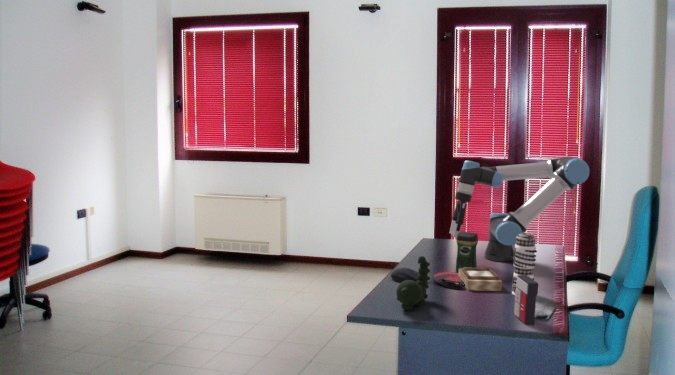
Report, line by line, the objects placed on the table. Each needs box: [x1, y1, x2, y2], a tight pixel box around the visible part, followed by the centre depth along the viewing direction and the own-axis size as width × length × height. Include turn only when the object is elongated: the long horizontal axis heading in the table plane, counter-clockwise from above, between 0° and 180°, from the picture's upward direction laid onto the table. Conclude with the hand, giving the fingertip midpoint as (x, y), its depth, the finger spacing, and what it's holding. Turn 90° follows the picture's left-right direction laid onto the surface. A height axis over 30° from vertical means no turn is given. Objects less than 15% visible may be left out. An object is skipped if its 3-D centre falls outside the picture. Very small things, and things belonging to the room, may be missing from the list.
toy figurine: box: [396, 255, 431, 312], centre depth 241 cm, size 9×19×25 cm
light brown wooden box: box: [457, 267, 503, 292], centre depth 274 cm, size 14×20×5 cm
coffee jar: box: [454, 231, 479, 273], centre depth 293 cm, size 10×8×19 cm
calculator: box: [513, 275, 539, 326], centre depth 228 cm, size 11×4×15 cm, turn 5°
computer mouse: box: [390, 267, 464, 290], centre depth 273 cm, size 10×32×6 cm, turn 65°
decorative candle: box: [511, 232, 538, 296], centre depth 259 cm, size 9×9×25 cm
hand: (453, 235), depth 307 cm, fingers open, 13 cm apart
